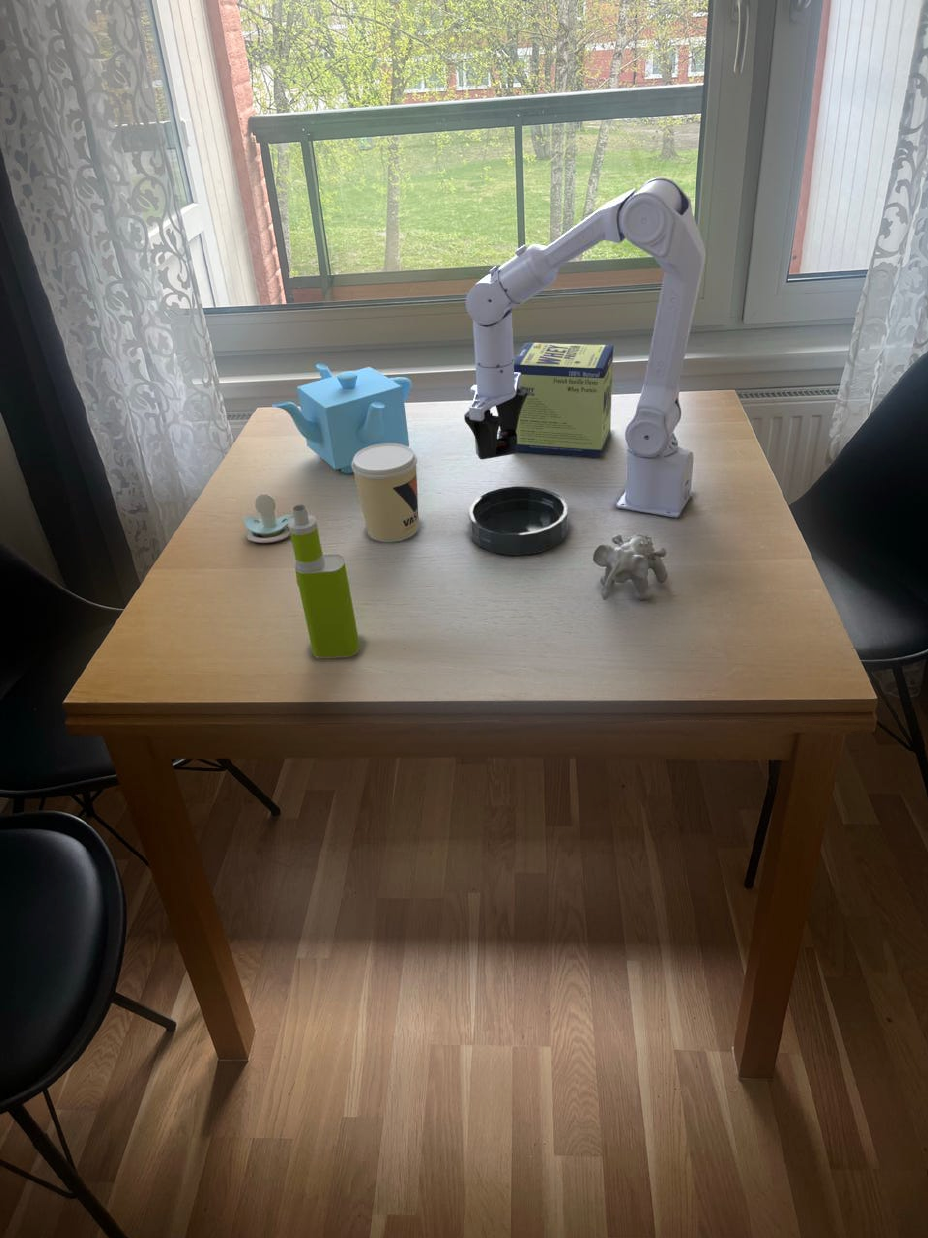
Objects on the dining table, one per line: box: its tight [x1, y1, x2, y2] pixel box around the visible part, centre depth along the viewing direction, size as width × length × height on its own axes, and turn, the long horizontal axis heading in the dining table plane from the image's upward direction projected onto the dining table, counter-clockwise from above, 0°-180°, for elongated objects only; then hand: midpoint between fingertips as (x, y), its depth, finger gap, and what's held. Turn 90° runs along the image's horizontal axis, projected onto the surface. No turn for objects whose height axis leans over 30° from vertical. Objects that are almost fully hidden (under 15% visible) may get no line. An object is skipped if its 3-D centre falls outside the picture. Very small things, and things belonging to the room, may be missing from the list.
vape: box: [287, 504, 360, 659], centre depth 106 cm, size 4×6×20 cm, turn 90°
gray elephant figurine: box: [592, 532, 669, 601], centre depth 114 cm, size 9×12×8 cm
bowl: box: [468, 485, 569, 556], centre depth 131 cm, size 14×14×4 cm
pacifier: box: [243, 493, 294, 544], centre depth 134 cm, size 7×6×6 cm
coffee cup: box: [352, 443, 419, 543], centre depth 131 cm, size 9×9×12 cm
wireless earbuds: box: [474, 429, 518, 461], centre depth 140 cm, size 5×7×3 cm, turn 104°
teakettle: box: [271, 363, 413, 474], centre depth 151 cm, size 19×19×15 cm
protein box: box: [514, 342, 614, 459], centre depth 150 cm, size 10×16×16 cm
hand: (498, 445), depth 140 cm, fingers closed on wireless earbuds, 7 cm apart
